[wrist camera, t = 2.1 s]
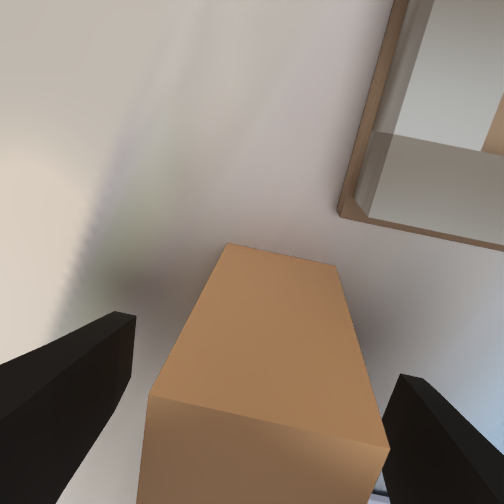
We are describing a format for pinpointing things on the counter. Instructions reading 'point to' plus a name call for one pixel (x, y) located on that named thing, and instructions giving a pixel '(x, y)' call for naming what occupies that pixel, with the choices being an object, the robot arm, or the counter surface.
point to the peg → (264, 393)
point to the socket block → (434, 125)
